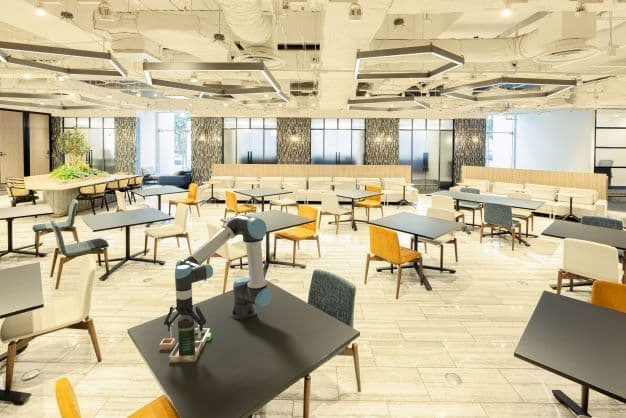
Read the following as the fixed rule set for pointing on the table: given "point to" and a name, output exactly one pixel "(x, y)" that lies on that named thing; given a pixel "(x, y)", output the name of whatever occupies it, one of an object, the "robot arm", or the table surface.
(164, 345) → the dish
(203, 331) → the frame
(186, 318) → the coffee jar
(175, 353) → the beige shallow box
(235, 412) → the table surface
